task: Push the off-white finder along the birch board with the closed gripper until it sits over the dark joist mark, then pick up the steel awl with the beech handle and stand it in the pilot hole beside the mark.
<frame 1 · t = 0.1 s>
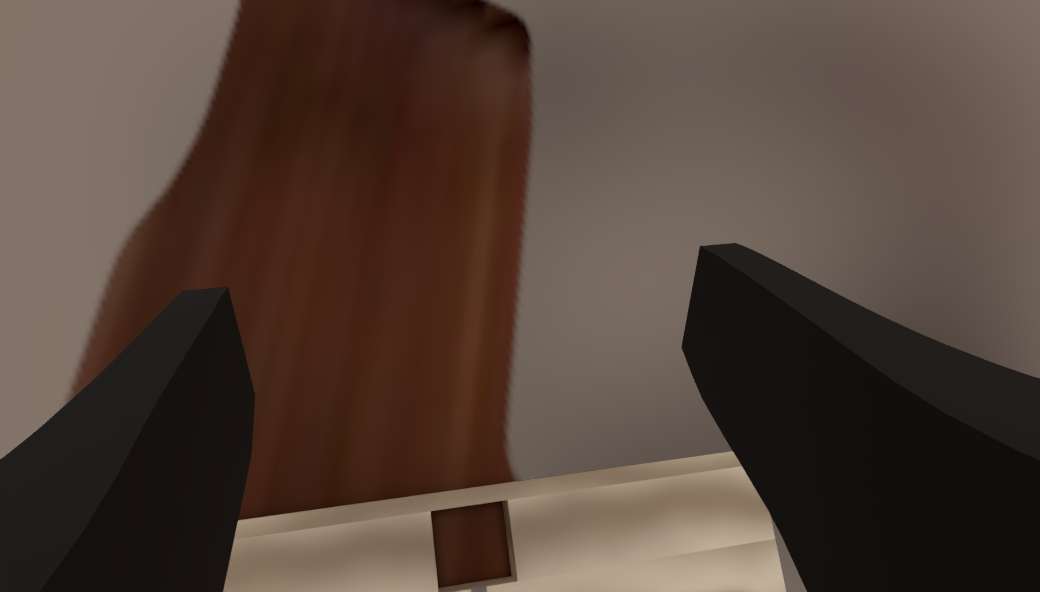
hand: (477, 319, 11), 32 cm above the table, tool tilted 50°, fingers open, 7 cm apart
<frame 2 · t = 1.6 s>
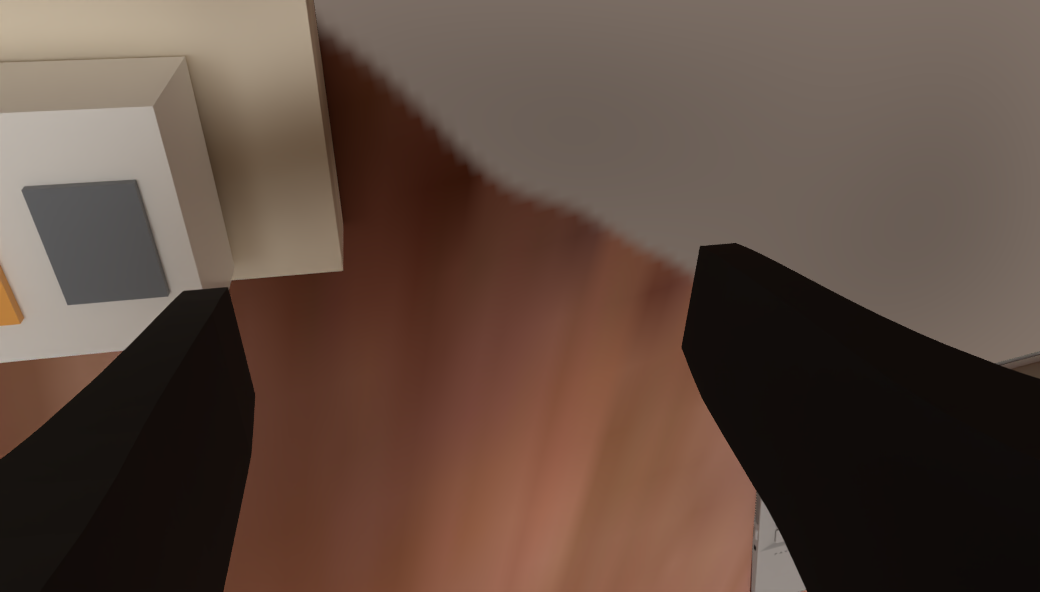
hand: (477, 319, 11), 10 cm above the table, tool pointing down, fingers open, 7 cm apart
laptop: (929, 461, 34), on the table
finder: (66, 211, 14), point 4 cm above the table, slide at 0.0 cm
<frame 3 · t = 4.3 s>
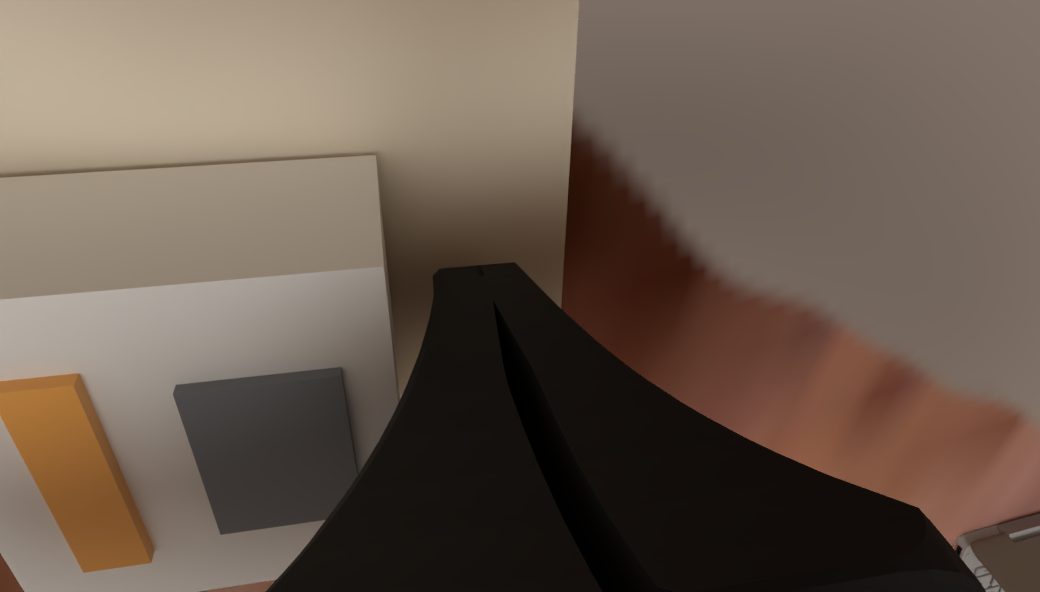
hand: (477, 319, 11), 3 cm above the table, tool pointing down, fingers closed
finder: (210, 385, 10), point 4 cm above the table, slide at 0.4 cm, touching gripper
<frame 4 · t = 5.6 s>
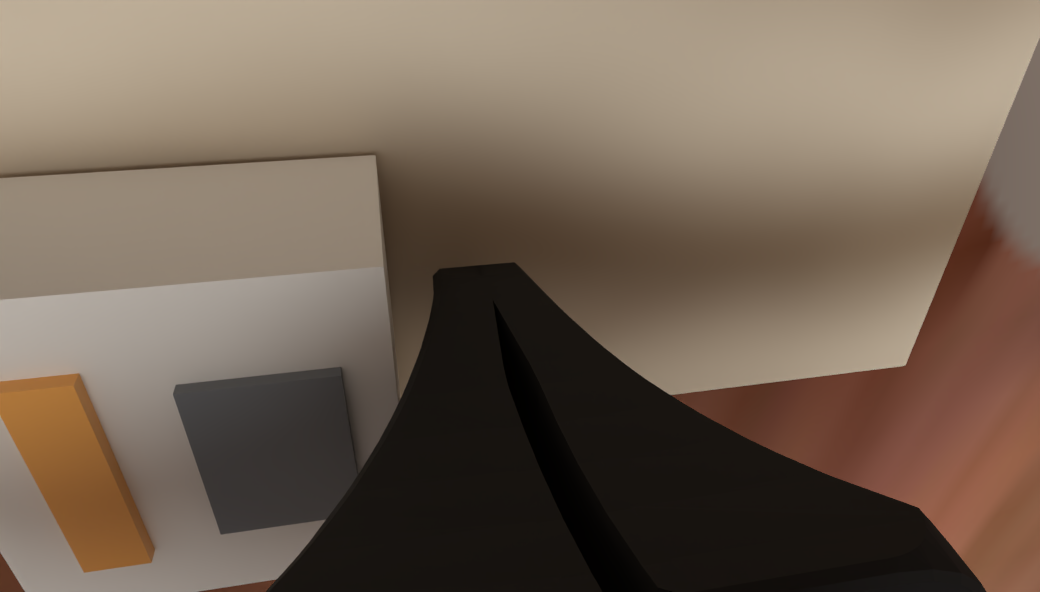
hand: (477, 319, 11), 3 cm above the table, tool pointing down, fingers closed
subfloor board: (58, 42, 11), on the table
finder: (210, 385, 10), point 4 cm above the table, slide at 7.9 cm, touching gripper
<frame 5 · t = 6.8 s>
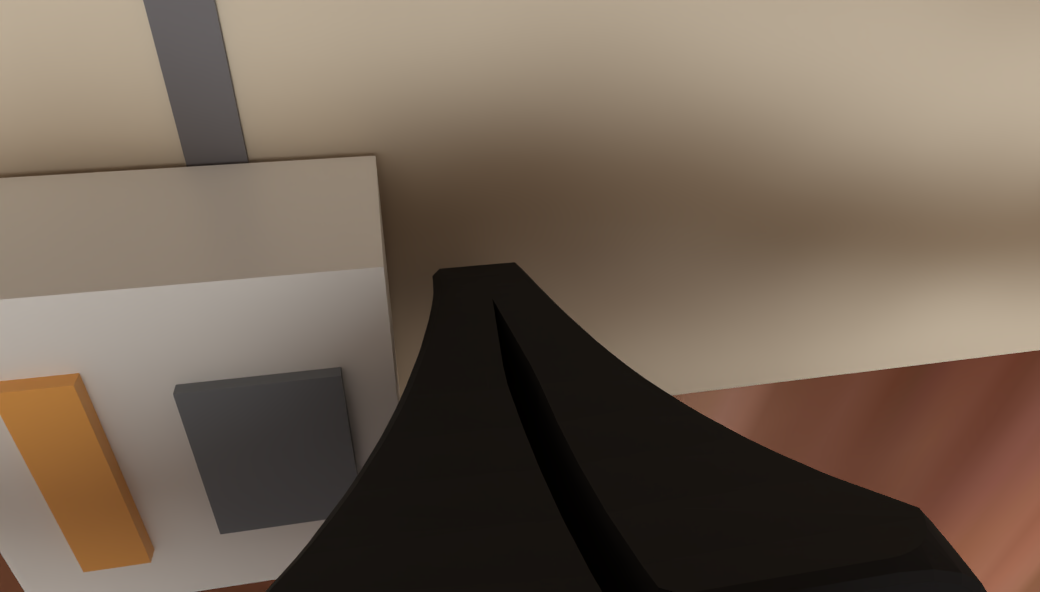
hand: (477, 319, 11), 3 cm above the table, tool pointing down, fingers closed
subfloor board: (356, 32, 12), on the table
finder: (210, 385, 10), point 4 cm above the table, slide at 12.4 cm, touching gripper
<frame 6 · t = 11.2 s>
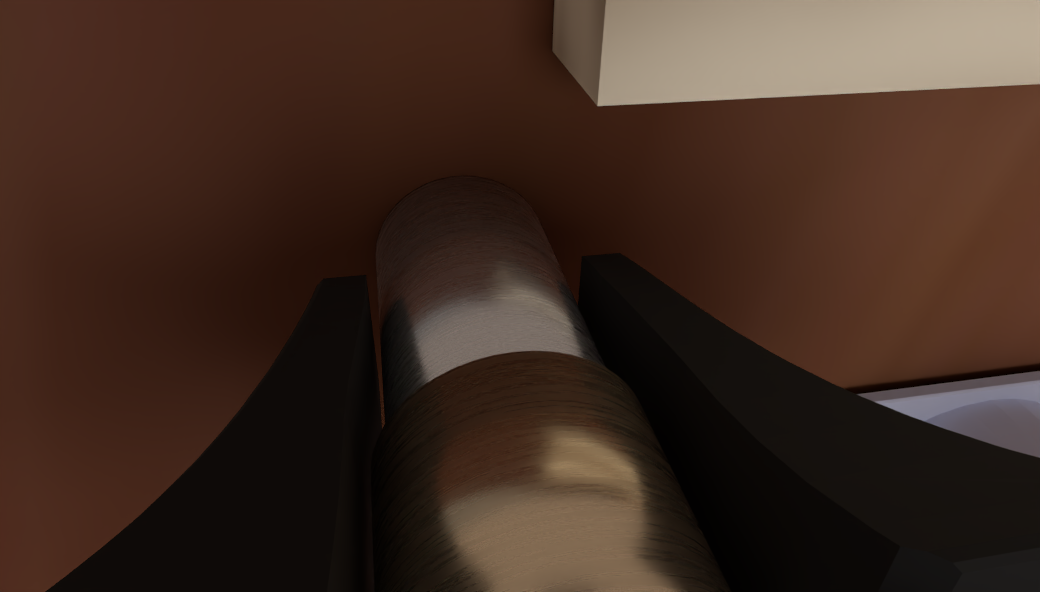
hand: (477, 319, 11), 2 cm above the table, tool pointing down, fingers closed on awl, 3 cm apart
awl: (461, 253, 13), on the table, touching gripper
when the fingers open (3 cm above the table, at t = 15.0 s): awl drops 1 cm, resting in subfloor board.
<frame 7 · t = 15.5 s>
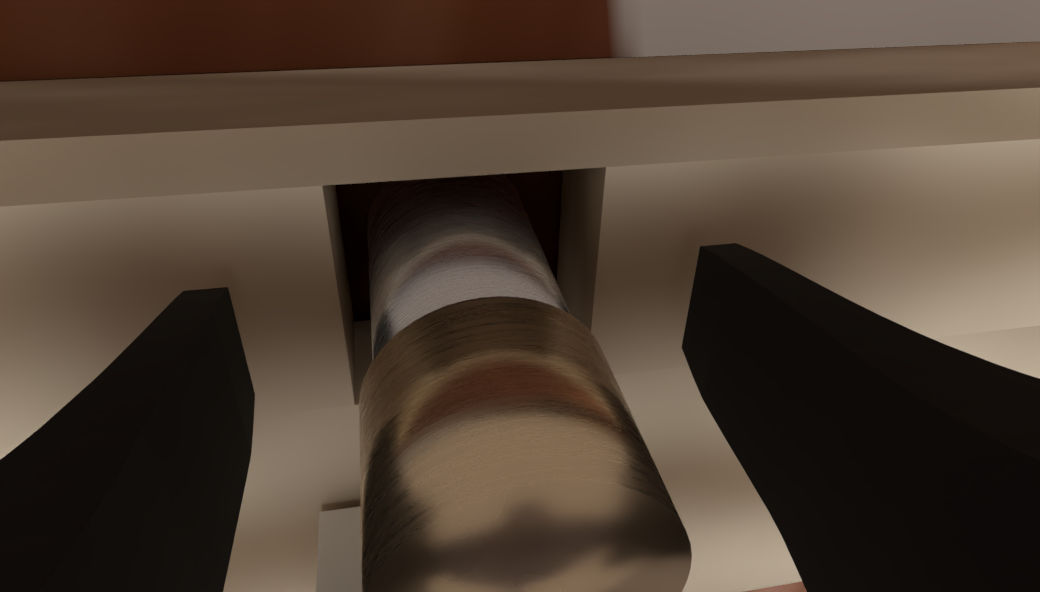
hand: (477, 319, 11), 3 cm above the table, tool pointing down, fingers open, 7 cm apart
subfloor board: (548, 354, 16), on the table
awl: (446, 225, 14), resting in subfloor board
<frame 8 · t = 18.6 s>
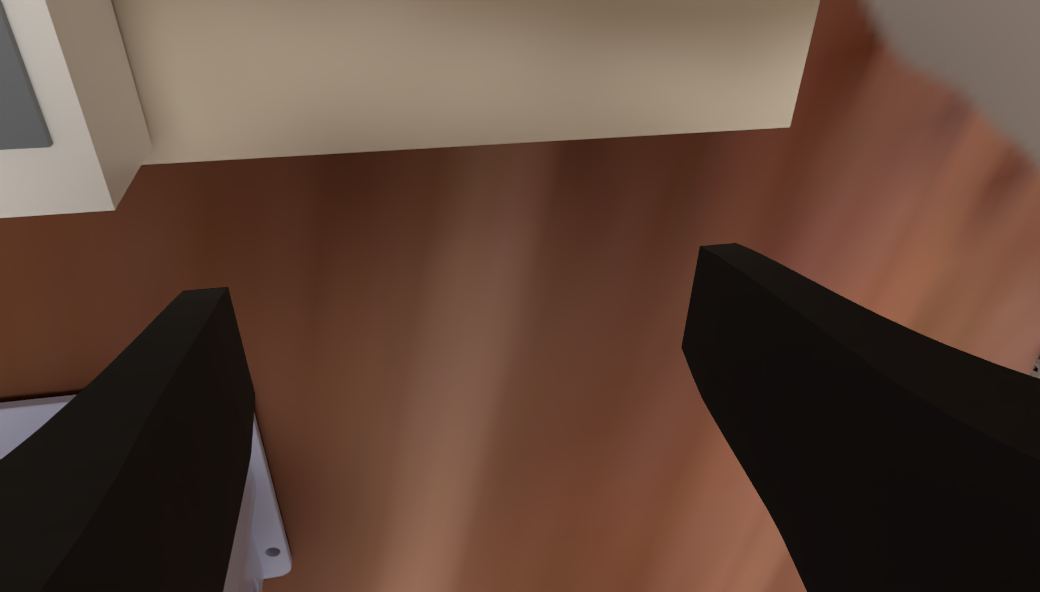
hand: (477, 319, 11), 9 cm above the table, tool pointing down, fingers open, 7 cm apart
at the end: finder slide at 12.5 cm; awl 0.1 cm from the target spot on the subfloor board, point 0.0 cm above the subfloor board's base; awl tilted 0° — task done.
